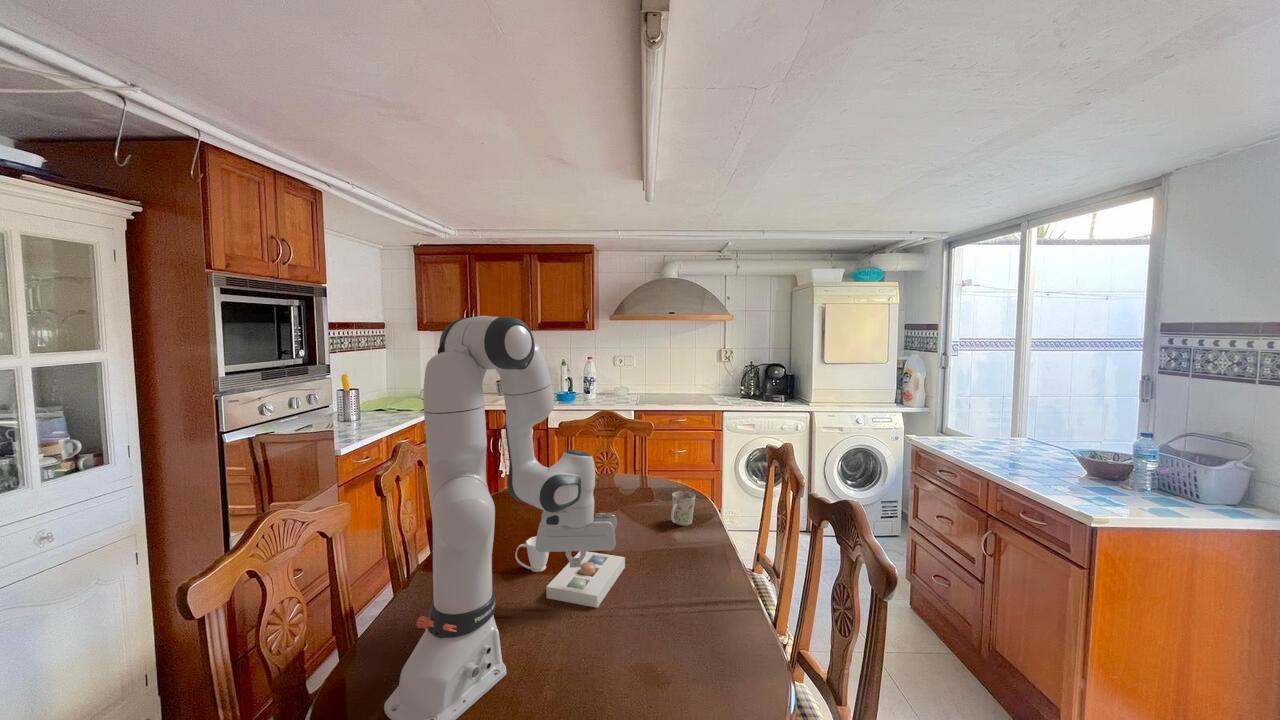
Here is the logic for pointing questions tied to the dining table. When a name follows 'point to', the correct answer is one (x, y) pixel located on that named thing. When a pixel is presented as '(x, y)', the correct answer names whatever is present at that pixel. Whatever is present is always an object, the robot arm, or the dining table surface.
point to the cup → (534, 556)
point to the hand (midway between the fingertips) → (575, 566)
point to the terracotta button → (588, 569)
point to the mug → (682, 507)
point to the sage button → (578, 583)
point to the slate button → (597, 560)
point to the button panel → (594, 585)
